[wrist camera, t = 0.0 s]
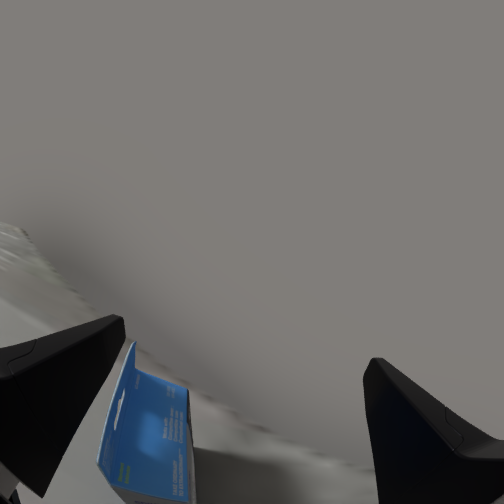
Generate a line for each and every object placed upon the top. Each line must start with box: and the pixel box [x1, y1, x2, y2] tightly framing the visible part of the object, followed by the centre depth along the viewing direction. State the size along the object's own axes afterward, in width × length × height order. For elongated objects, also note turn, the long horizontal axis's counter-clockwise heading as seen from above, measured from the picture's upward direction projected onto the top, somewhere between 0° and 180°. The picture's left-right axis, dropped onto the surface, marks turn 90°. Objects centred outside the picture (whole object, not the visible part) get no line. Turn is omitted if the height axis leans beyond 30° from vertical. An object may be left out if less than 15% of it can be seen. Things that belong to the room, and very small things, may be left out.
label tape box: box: [96, 341, 197, 504], centre depth 13 cm, size 9×4×12 cm, turn 9°
